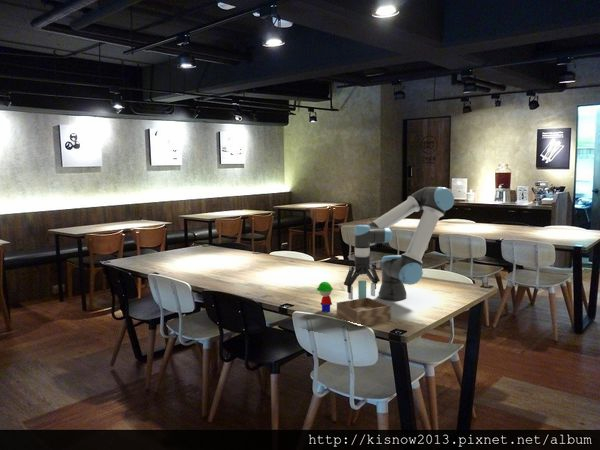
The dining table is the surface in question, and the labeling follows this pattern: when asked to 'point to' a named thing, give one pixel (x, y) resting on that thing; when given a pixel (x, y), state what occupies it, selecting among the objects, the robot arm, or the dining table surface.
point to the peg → (361, 289)
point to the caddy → (364, 311)
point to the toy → (325, 295)
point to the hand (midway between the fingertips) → (361, 297)
